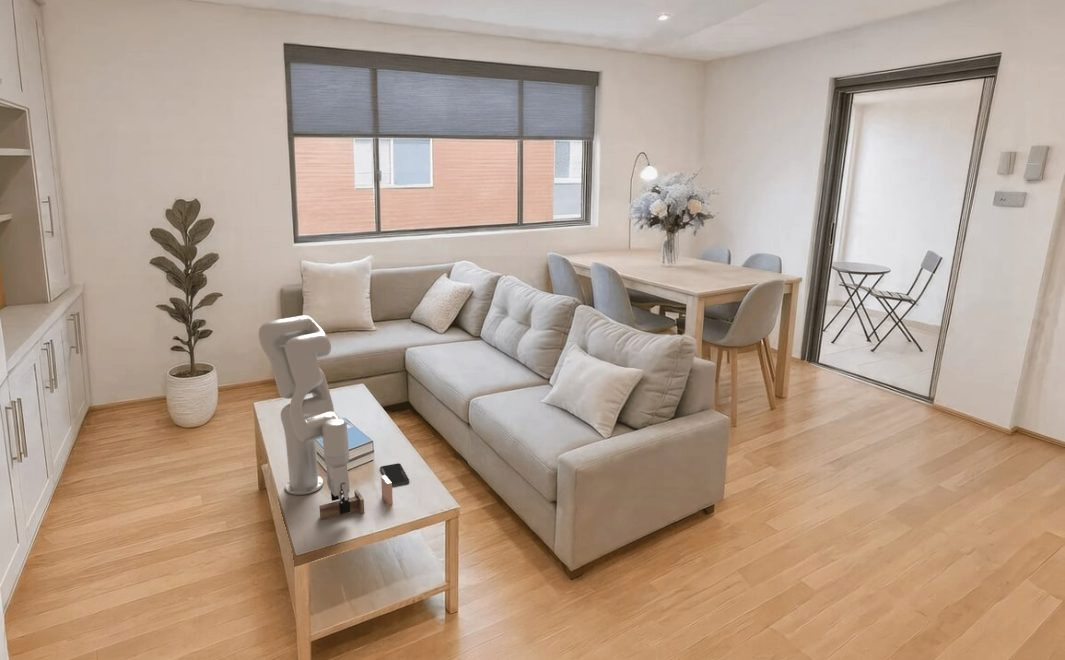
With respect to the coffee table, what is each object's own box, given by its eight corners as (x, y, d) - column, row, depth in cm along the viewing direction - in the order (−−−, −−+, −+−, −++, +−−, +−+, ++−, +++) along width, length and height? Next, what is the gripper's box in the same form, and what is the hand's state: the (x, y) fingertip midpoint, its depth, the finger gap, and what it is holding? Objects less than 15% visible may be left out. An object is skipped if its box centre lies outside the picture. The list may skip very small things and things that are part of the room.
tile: (381, 497, 214) (381, 476, 212) (386, 495, 215) (386, 474, 213) (387, 505, 210) (387, 484, 207) (392, 504, 210) (392, 482, 208)
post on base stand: (318, 513, 204) (317, 499, 203) (357, 502, 211) (357, 489, 209) (323, 523, 198) (322, 509, 197) (364, 512, 205) (363, 499, 204)
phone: (388, 485, 220) (379, 466, 233) (388, 488, 221) (379, 469, 234) (410, 481, 224) (400, 462, 237) (410, 484, 224) (400, 465, 237)
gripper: (318, 450, 204) (322, 497, 208) (332, 471, 189) (336, 521, 194) (341, 445, 208) (344, 491, 212) (356, 465, 193) (360, 514, 198)
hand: (340, 506), depth 203 cm, fingers open, 9 cm apart
